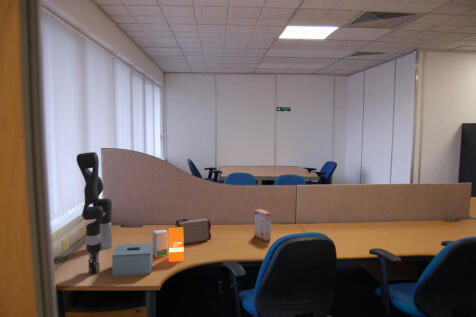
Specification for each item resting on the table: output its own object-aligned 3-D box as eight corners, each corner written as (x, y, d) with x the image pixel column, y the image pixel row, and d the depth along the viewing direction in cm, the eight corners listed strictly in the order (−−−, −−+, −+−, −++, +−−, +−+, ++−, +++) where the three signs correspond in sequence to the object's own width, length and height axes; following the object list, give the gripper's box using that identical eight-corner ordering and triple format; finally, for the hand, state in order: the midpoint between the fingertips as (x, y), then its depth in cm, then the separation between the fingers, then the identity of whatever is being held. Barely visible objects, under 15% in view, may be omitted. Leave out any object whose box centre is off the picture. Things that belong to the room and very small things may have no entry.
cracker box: (270, 240, 231) (271, 212, 229) (264, 241, 228) (264, 213, 226) (260, 234, 243) (261, 208, 242) (253, 235, 240) (254, 209, 239)
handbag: (208, 235, 239) (208, 213, 238) (214, 240, 230) (215, 217, 229) (173, 241, 225) (173, 218, 224) (178, 246, 216) (178, 221, 215)
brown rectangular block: (90, 271, 176) (90, 262, 175) (99, 270, 176) (99, 262, 176) (88, 273, 173) (88, 265, 172) (98, 273, 174) (98, 264, 173)
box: (117, 264, 185) (117, 244, 184) (152, 262, 189) (152, 243, 188) (112, 276, 170) (112, 255, 169) (150, 274, 174) (150, 253, 173)
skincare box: (155, 258, 196) (155, 233, 194) (152, 254, 201) (151, 231, 200) (168, 255, 201) (168, 231, 199) (164, 251, 206) (164, 228, 205)
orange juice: (168, 256, 198) (168, 226, 196) (182, 255, 200) (182, 225, 198) (169, 261, 190) (168, 229, 188) (183, 260, 192) (183, 229, 190)
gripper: (89, 238, 179) (90, 267, 181) (82, 246, 165) (83, 278, 167) (103, 237, 181) (104, 266, 182) (97, 246, 167) (98, 277, 168)
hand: (94, 271), depth 174 cm, fingers closed on brown rectangular block, 2 cm apart
